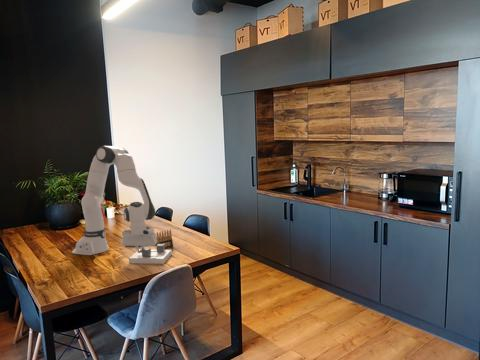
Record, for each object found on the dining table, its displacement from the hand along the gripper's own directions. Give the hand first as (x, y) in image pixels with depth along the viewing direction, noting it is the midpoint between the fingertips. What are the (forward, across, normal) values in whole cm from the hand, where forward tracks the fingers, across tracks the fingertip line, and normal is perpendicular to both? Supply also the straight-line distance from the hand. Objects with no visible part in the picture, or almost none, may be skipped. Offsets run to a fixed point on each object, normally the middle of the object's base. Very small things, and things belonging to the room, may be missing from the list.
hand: (140, 252), depth 220 cm
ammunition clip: (+6, +6, +22) cm, 24 cm away
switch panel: (+5, +5, +4) cm, 8 cm away
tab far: (+2, +10, +8) cm, 13 cm away
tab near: (+2, +4, 0) cm, 4 cm away
